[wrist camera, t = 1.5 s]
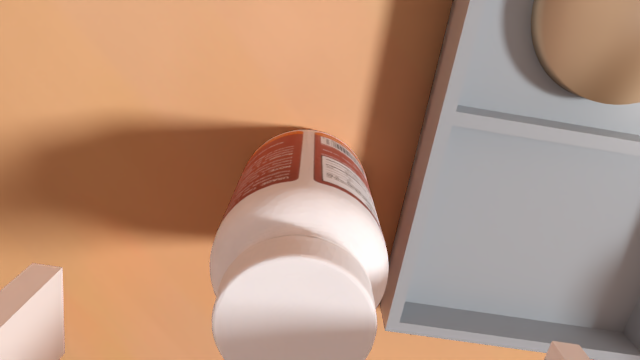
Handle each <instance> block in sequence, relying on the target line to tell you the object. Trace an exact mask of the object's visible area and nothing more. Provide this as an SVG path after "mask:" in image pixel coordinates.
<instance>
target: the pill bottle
mask: <svg viewBox="0 0 640 360" xmlns="http://www.w3.org/2000/svg"><path fill="white" fill-rule="evenodd" d="M388 271H389V261H388V254H387V249H386V244H385V240H384V237H383V233H382V230H381V226H380V224H379V220H378V217H377V213H376V210H375V206H374V202H373V199H372V196H371V192H370V189H369V185H368V181H367V178H366V174H365V172H364V169H363V166H362V164H361V162H360V161H359V159H358V158H357V156H356V154H355V153H354V152H353V151H352V150H351V149H350V148H349V147H348V146H347V145H346V144H345V143H343V142H342V141H341V140H339V139H337V138H336V137H334V136H332V135H330V134H327V133H324V132H320V131H316V130H294V131H289V132H285V133H282V134H280V135H278V136H275V137H273V138H271V139H270V140H268V141H267V142H265V143H264V144H263V145H261V146H260V147H259V148H258V149H257V150H256V151H255V153H254V154H253V155H252V157H251V158H250V160H249V161H248V163H247V165H246V166H245V168H244V171H243V173H242V175H241V178H240V180H239V182H238V185H237V187H236V189H235V191H234V194H233V196H232V198H231V201H230V203H229V205H228V208H227V210H226V212H225V214H224V217H223V219H222V221H221V223H220V226H219V228H218V231H217V233H216V236H215V239H214V242H213V246H212V249H211V255H210V277H211V282H212V286H213V289H214V293H215V295H216V300H215V304H214V307H213V312H212V331H213V336H214V340H215V343H216V345H217V348H218V350H219V352H220V353H221V355H222V357H223V358H224V360H365V359H366V358H367V356H368V354H369V352H370V351H371V349H372V346H373V343H374V340H375V336H376V331H377V315H376V308H377V307H378V305H379V303H380V301H381V299H382V297H383V294H384V292H385V288H386V285H387V280H388Z"/></svg>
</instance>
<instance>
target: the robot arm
mask: <svg viewBox="0 0 640 360" xmlns="http://www.w3.org/2000/svg"><path fill="white" fill-rule="evenodd" d="M64 353H65V342H64V307H63V272H62V267H56V266H50V265H43V264H36V263H32V264H31V265H30V266H28V267H27V268H26V269H25V270H24V271H23V272H21V273H20V274H19V275H18V276H17V277H16V278H14V279H13V280H12V281H11V282H10V283H9V284H7V285H6V286H5V287H4V288H3V289H2V290H0V360H60V358H61V357H62V356H63V354H64ZM544 360H590V358H589V357H588V356H587V354H586V353H585V352H584V350H583V349H582V348H581V346H580V345H577V344H571V343H564V342H557V341H552V342H551V344H550V347H549V349H548V352H547V354H546V357H545V359H544Z"/></svg>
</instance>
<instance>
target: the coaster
mask: <svg viewBox="0 0 640 360" xmlns="http://www.w3.org/2000/svg"><path fill="white" fill-rule="evenodd" d="M531 35H532V42H533V46H534V50H535V53H536V56H537V58H538V60H539V62H540V64H541V66H542V67H543V69H544V71H545V72H546V73H547V75H548V76H549V77H550V78H551V79H552V80H553V81H554V82H555V83H556V84H558V85H559V86H560V87H562V88H563V89H565V90H567V91H568V92H570V93H573V94H575V95H578V96H580V97H583V98H586V99H589V100H592V101H595V102H599V103H603V104H612V105H626V104H633V103H639V102H640V0H534V3H533V7H532V15H531Z"/></svg>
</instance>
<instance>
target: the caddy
mask: <svg viewBox="0 0 640 360" xmlns="http://www.w3.org/2000/svg"><path fill="white" fill-rule="evenodd" d="M533 3H534V0H453V3H452V7H451V11H450V15H449V19H448V23H447V27H446V31H445V35H444V39H443V44H442V48H441V52H440V56H439V60H438V64H437V68H436V72H435V76H434V80H433V84H432V88H431V92H430V96H429V101H428V105H427V109H426V113H425V117H424V121H423V125H422V129H421V133H420V137H419V141H418V145H417V149H416V153H415V158H414V162H413V166H412V170H411V174H410V178H409V182H408V186H407V190H406V194H405V198H404V202H403V206H402V210H401V215H400V219H399V223H398V227H397V231H396V235H395V239H394V243H393V247H392V251H391V255H390V259H389V271H388V280H387V285H386V288H385V292H384V294H383V297H382V299H381V301H380V307H381V313H382V318H383V323H384V328H385V331H391V332H399V333H406V334H413V335H420V336H427V337H435V338H442V339H449V340H456V341H464V342H471V343H478V344H485V345H492V346H500V347H507V348H514V349H521V350H528V351H536V352H543V353H547V352H548V349H549V347H550V344H551V342H552V341H557V342H564V343H571V344H577V345H580V346H581V348H582V349H583V350H584V352H585V353H586V354H587V356H588V357H589V358H590V359H593V360H640V102H639V103H633V104H626V105H612V104H603V103H599V102H595V101H592V100H589V99H586V98H583V97H580V96H578V95H575V94H573V93H570V92H568V91H567V90H565V89H563V88H562V87H560V86H559V85H558V84H556V83H555V82H554V81H553V80H552V79H551V78H550V77H549V76H548V75H547V73H546V72H545V71H544V69H543V67H542V66H541V64H540V62H539V60H538V58H537V56H536V53H535V50H534V46H533V42H532V35H531V15H532V7H533Z"/></svg>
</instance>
